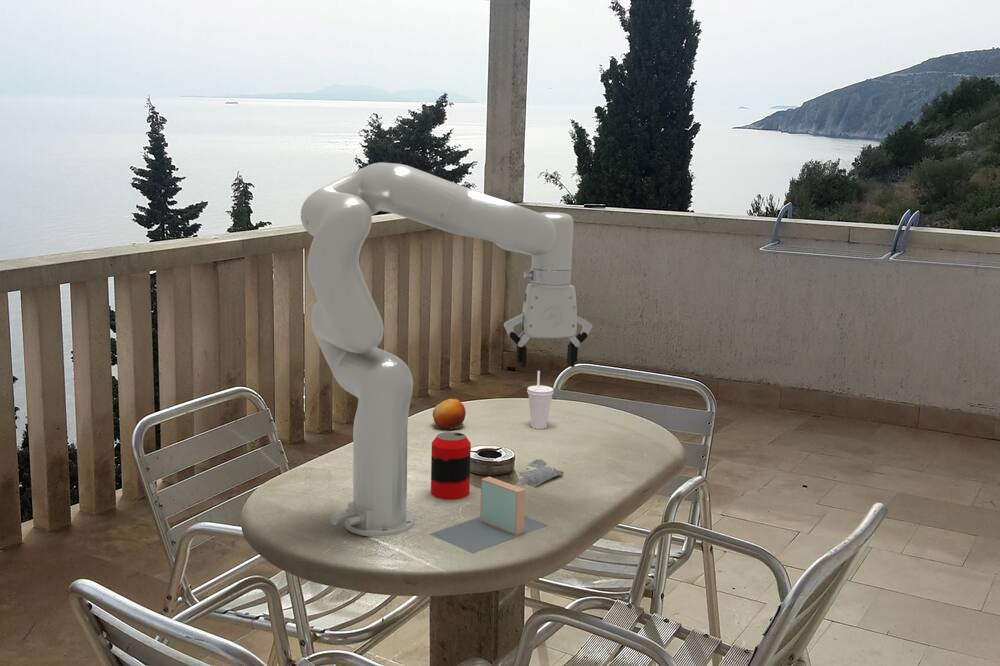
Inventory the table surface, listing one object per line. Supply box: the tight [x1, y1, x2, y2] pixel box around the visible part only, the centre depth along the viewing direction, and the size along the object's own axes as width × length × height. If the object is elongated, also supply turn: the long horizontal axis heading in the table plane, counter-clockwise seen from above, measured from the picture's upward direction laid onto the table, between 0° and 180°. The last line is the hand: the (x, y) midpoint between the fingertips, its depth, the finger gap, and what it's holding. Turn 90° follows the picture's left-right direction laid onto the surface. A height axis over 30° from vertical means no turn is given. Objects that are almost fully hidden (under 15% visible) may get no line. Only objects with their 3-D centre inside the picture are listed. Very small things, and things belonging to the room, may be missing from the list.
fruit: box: [432, 398, 467, 431], centre depth 243 cm, size 8×8×8 cm
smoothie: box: [526, 370, 554, 430], centre depth 245 cm, size 6×6×14 cm
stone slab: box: [515, 458, 563, 488], centre depth 210 cm, size 18×2×10 cm
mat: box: [429, 515, 549, 554], centre depth 179 cm, size 19×11×1 cm, turn 136°
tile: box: [479, 476, 526, 535], centre depth 180 cm, size 2×9×8 cm, turn 45°
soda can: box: [430, 431, 472, 501], centre depth 196 cm, size 8×8×12 cm
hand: (546, 365), depth 195 cm, fingers open, 9 cm apart
